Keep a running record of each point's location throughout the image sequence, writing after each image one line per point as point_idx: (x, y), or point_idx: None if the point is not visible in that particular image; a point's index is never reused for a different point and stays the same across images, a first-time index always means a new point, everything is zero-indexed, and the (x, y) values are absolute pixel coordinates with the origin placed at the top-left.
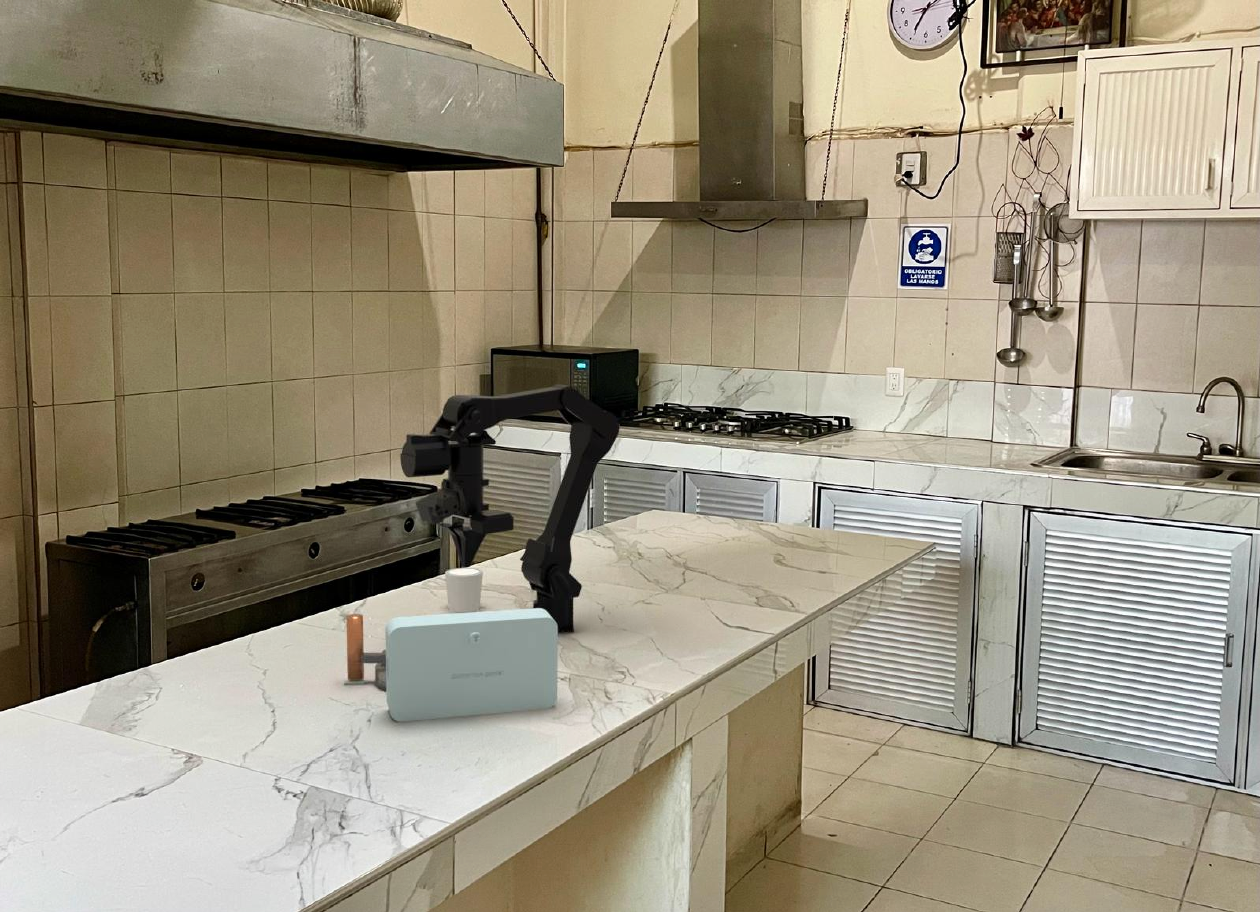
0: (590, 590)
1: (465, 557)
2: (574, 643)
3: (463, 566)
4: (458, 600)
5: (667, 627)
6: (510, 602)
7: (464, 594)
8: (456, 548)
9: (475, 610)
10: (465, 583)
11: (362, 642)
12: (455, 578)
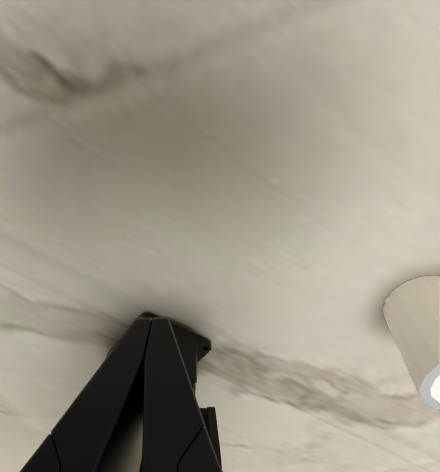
0: (308, 464)
1: (99, 372)
2: (40, 325)
3: (154, 319)
4: (422, 301)
5: None
6: (366, 374)
7: (416, 321)
8: (196, 415)
9: (383, 309)
10: (428, 346)
11: None
12: None
